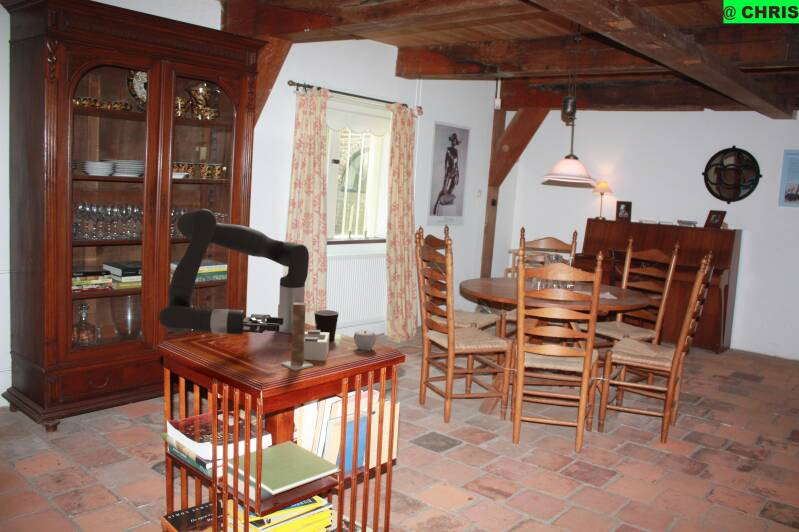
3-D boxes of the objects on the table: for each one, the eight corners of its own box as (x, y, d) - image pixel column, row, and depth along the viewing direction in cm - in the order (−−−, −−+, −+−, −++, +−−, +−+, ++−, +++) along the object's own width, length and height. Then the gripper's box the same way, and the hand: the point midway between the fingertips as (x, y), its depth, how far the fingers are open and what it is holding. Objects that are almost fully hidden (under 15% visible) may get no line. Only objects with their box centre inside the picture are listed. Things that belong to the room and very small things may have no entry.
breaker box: (294, 359, 208) (295, 338, 207) (299, 348, 221) (299, 328, 220) (325, 360, 209) (326, 340, 208) (328, 349, 222) (329, 330, 221)
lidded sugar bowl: (377, 347, 228) (378, 329, 227) (373, 353, 220) (374, 334, 219) (355, 345, 229) (356, 327, 228) (350, 351, 221) (351, 332, 220)
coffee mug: (333, 343, 229) (334, 316, 228) (310, 341, 231) (311, 313, 230) (342, 336, 241) (343, 309, 239) (320, 333, 242) (321, 307, 241)
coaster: (281, 364, 202) (281, 362, 202) (300, 361, 207) (300, 359, 206) (294, 370, 197) (294, 368, 197) (313, 366, 201) (313, 364, 201)
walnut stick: (290, 365, 200) (292, 304, 197) (292, 361, 203) (294, 302, 201) (302, 365, 200) (304, 305, 197) (303, 362, 203) (305, 302, 201)
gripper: (223, 314, 191) (278, 317, 192) (233, 305, 205) (284, 307, 206) (222, 339, 192) (277, 342, 193) (232, 328, 206) (284, 330, 207)
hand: (281, 324), depth 200 cm, fingers open, 8 cm apart
